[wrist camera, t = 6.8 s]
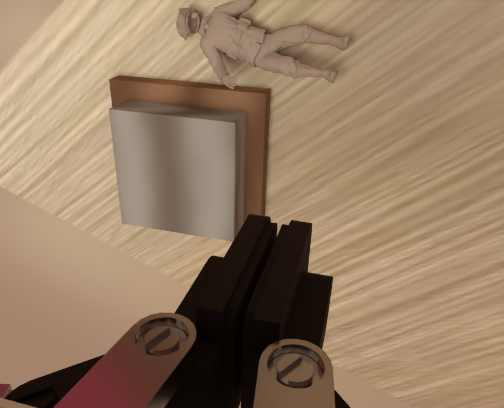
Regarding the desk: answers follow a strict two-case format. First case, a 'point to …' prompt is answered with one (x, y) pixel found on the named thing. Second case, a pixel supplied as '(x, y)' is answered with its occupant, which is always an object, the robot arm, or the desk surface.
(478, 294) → the desk surface
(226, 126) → the tower pedestal
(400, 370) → the desk surface
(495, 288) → the desk surface
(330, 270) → the desk surface
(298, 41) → the soldier figure
